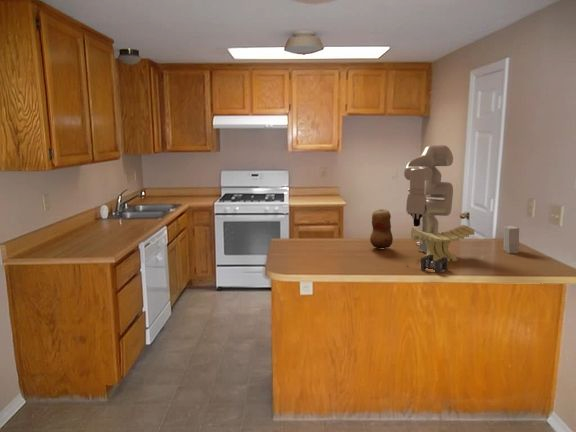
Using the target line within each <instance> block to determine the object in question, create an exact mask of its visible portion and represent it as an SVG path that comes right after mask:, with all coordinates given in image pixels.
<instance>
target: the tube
mask: <svg viewBox="0 0 576 432" xmlns="http://www.w3.org/2000/svg"><path fill="white" fill-rule="evenodd" d="M426 268H428V269H433V270H435V261H434V260H433V261H429V260H428V259H427V260H426ZM443 268H444V265H443V263H442V262H441V263H440V271H442V270H443Z"/></svg>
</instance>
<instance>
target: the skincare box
mask: <svg viewBox="0 0 576 432" xmlns="http://www.w3.org/2000/svg"><path fill="white" fill-rule="evenodd" d="M503 251H504V252H506V253H508V254H519V253H520V228H519V227H517V226H514V225H506V226H505V225H504V226H503Z"/></svg>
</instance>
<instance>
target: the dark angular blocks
mask: <svg viewBox="0 0 576 432" xmlns="http://www.w3.org/2000/svg"><path fill="white" fill-rule="evenodd" d="M434 262H435V273H434V274H436V273H438V274H441V273H440V263H443V265H444V268H443V270H445V271H446V270H448V261H447V257H443V258H441V257H439V259H438V260H436V261H434ZM438 274H437V275H438Z"/></svg>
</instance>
